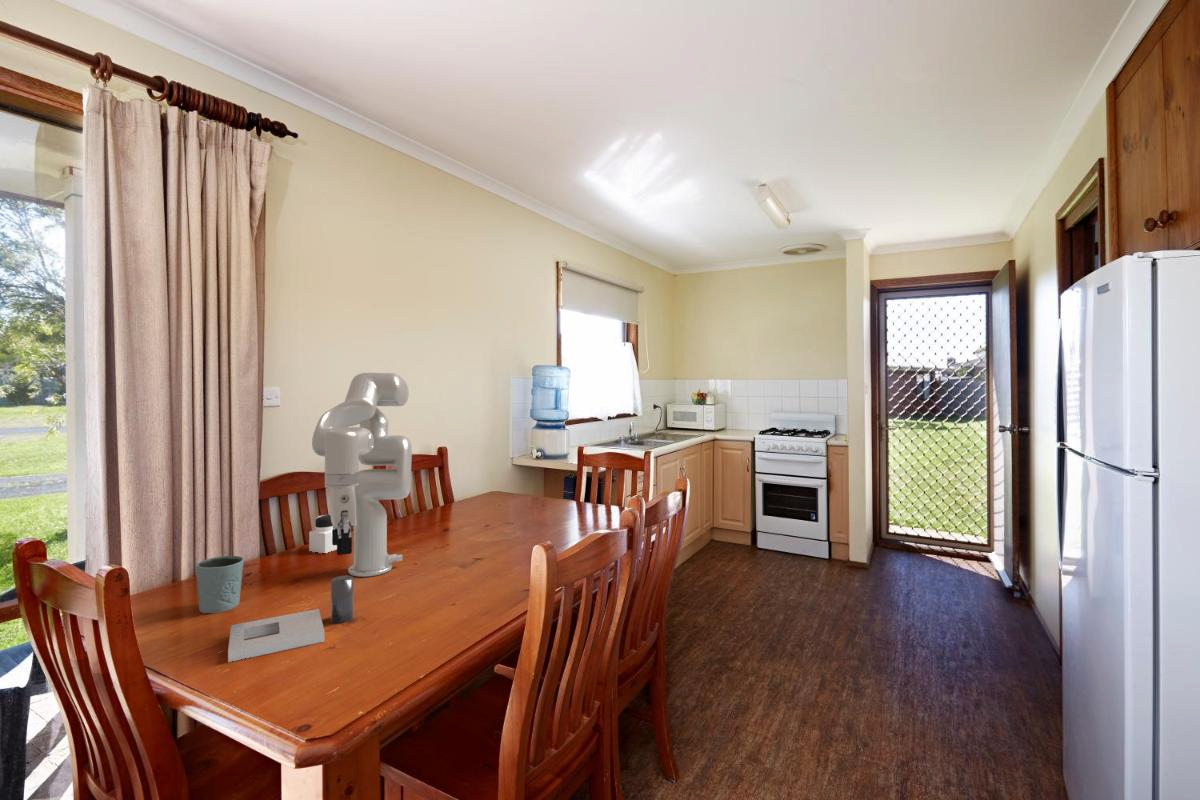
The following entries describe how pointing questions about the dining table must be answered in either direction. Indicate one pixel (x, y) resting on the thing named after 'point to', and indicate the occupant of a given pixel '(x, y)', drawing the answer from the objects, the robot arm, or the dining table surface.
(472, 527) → the dining table surface
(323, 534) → the medicine bottle
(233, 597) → the teal embossed planter pot
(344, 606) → the dark grey peg block
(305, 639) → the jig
